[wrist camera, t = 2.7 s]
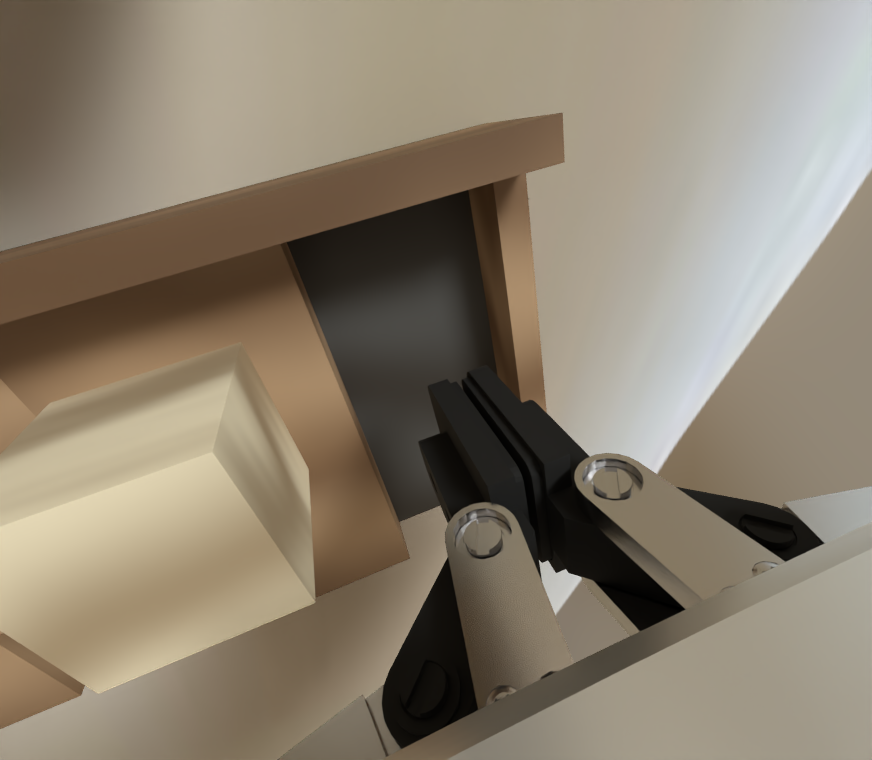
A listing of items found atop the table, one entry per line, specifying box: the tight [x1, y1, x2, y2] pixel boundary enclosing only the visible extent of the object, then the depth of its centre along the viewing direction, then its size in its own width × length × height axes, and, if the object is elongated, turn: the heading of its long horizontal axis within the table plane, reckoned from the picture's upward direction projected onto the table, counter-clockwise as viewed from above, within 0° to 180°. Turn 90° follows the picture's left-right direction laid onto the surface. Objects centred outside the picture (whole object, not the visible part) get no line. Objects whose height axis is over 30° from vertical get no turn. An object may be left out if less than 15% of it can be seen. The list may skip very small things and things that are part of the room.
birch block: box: [0, 342, 316, 694], centre depth 10 cm, size 5×5×5 cm
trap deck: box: [0, 113, 564, 729], centre depth 13 cm, size 15×32×4 cm, turn 102°
